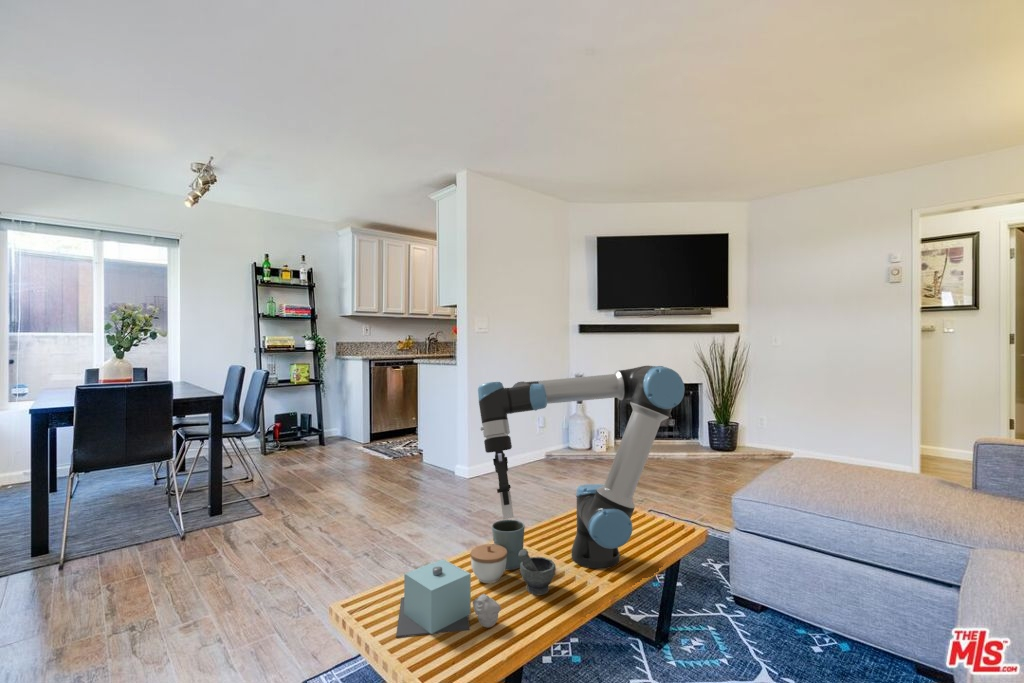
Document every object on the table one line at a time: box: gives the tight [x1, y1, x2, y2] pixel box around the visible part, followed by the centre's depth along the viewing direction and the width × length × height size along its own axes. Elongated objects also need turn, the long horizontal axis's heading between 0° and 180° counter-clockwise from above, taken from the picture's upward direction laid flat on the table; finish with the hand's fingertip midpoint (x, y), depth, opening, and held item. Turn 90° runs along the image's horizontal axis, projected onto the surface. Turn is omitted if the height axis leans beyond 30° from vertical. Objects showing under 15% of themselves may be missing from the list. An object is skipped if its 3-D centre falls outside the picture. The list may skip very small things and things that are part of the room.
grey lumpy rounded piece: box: [472, 593, 502, 628], centre depth 112 cm, size 6×7×7 cm
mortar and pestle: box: [518, 548, 556, 596], centre depth 129 cm, size 11×9×12 cm
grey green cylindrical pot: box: [491, 519, 525, 571], centre depth 144 cm, size 10×10×12 cm
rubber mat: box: [395, 597, 470, 638], centre depth 117 cm, size 17×17×1 cm
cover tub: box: [403, 558, 472, 635], centre depth 116 cm, size 12×12×11 cm
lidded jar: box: [470, 543, 507, 584], centre depth 135 cm, size 11×11×9 cm
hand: (508, 515), depth 126 cm, fingers open, 13 cm apart
